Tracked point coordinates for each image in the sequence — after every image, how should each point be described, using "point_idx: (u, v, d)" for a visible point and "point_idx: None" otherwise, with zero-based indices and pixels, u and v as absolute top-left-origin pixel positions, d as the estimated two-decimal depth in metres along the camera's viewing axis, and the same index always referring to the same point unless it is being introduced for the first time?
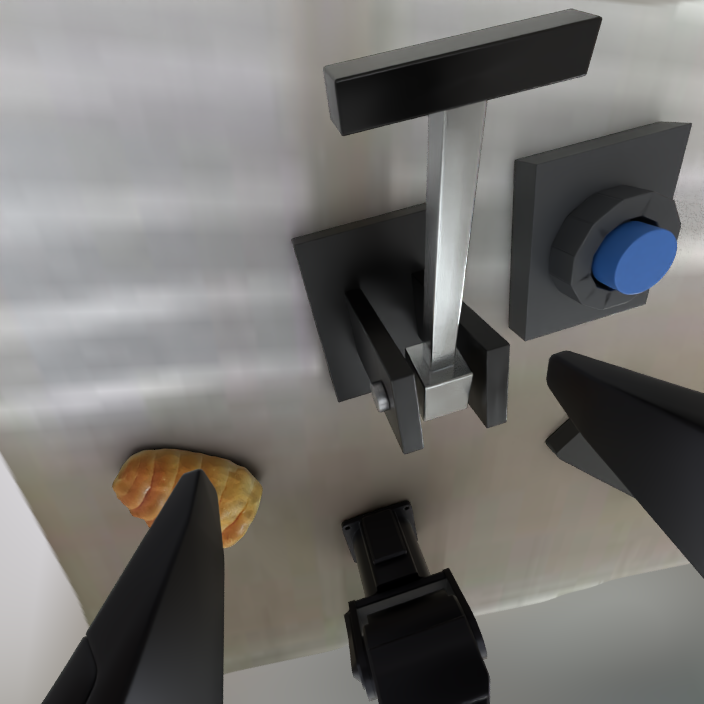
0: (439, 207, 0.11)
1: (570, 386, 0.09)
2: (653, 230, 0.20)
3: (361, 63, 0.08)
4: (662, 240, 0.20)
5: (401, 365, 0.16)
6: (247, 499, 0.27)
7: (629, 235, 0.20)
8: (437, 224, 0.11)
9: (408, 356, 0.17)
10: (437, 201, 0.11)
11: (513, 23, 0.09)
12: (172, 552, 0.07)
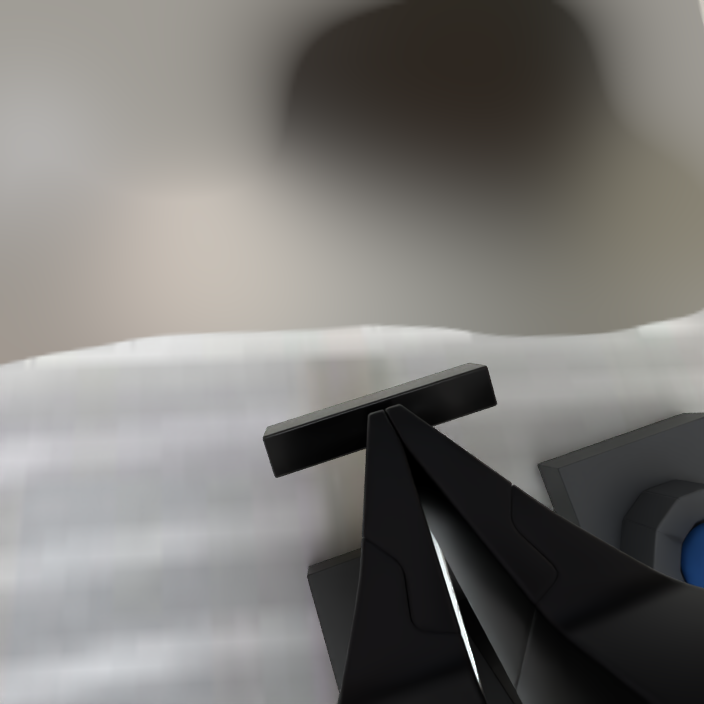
0: None
1: None
2: None
3: (292, 421, 0.10)
4: None
5: None
6: None
7: None
8: None
9: None
10: None
11: (420, 378, 0.11)
12: (406, 472, 0.07)
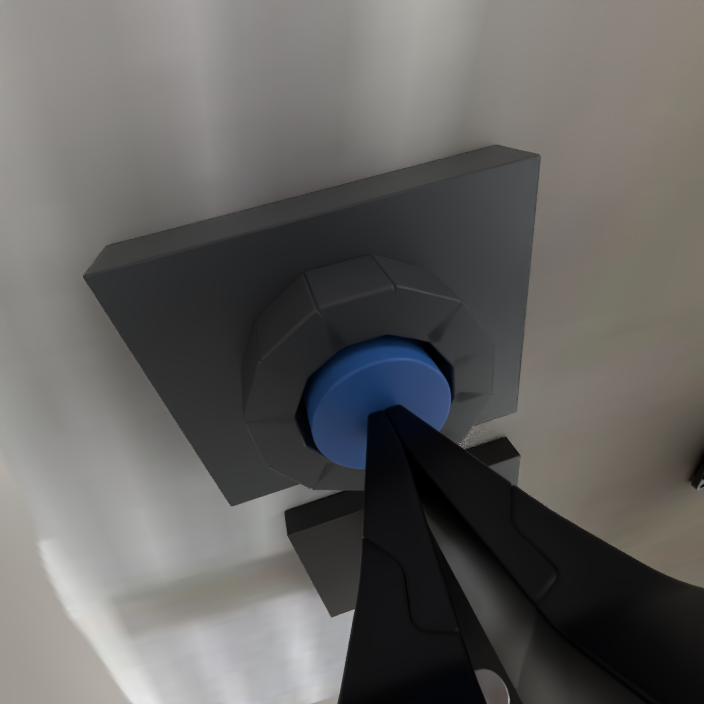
0: None
1: None
2: (314, 440, 0.10)
3: None
4: (337, 413, 0.09)
5: None
6: None
7: None
8: None
9: None
10: None
11: None
12: (406, 472, 0.07)
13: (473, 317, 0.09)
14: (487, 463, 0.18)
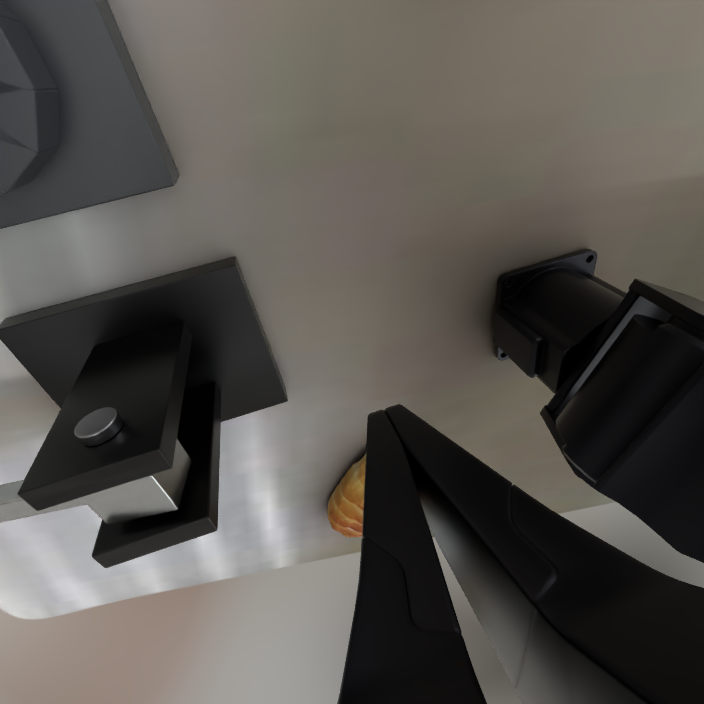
0: None
1: None
2: None
3: None
4: None
5: None
6: None
7: None
8: None
9: None
10: None
11: None
12: (406, 472, 0.07)
13: None
14: (202, 272, 0.19)
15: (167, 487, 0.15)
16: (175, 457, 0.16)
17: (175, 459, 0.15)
